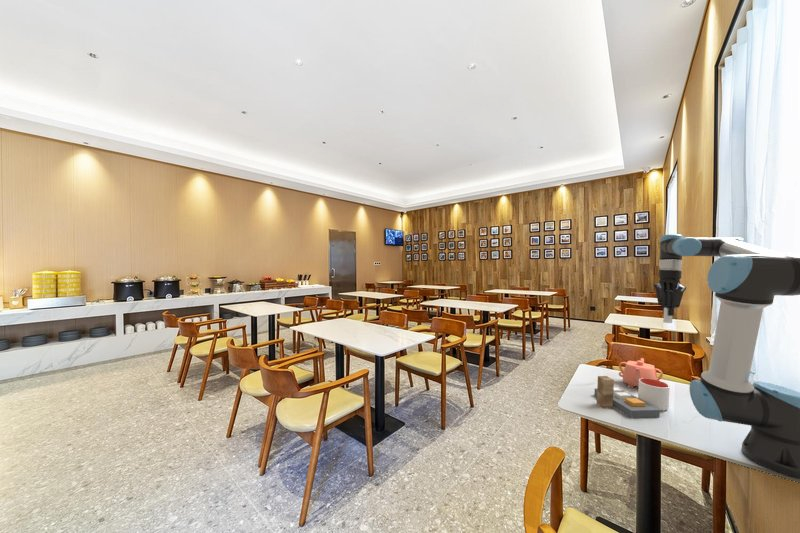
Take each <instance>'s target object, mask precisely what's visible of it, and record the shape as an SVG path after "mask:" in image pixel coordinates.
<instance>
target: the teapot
mask: <svg viewBox="0 0 800 533" xmlns="http://www.w3.org/2000/svg"><path fill="white" fill-rule="evenodd" d="M622 365H625V366H624V367H623V368H624V369H623V368H622ZM618 368H619V370H620V372H619V373H618V375H619V377H621V378H622V380H623V383H624V384H627V387H628V386H629V387H628V388H631V387H634V388H635V387H637V388H639V379H642V378H648V379H654V380H658V381H661V379H662V378H663V376H664V374H663V373H664V372H663V371H662V370H661V369H659V368H655V365H654V364H650V363H646V362H645V358H643V357H641V358H640V360H636V361H635V360H634V361H633V360H628V361H627V362H626V361H621V362H619V364H618ZM657 372H659V376H657V375H658V374H657Z"/></svg>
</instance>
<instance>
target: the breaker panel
mask: <svg viewBox="0 0 800 533" xmlns="http://www.w3.org/2000/svg"><path fill="white" fill-rule="evenodd" d="M594 396H595V397H597V388H594ZM625 398H637V399H639V398H638V396H635V395H633V394H631V393H629V392H627V391H625V390H623V389H621V388H619V387H617V386H616V387H615V386H614V391H613V409H615V410H617V411H619V412H621V413H622V414H624V415H625V416H627V417H629V418H630V419H644V418H645V419H647V418H649V419H650V418H651V419H652V418H653V419H655V418H660V416H661V415H660V412H661V411H660V410H659V409H657V408H655V407H654V406H652V405H650V404H648V403H646V402H645V407H632V406H630V405H629V404H627V403H625ZM639 400H640V399H639ZM641 401H642V400H641ZM643 402H644V401H643Z"/></svg>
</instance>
